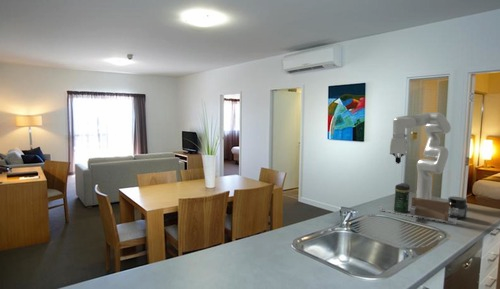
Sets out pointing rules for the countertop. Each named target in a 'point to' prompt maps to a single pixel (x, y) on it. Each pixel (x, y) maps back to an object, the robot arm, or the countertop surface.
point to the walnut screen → (430, 208)
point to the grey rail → (417, 215)
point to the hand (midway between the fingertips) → (398, 163)
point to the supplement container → (457, 207)
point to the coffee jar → (401, 197)
